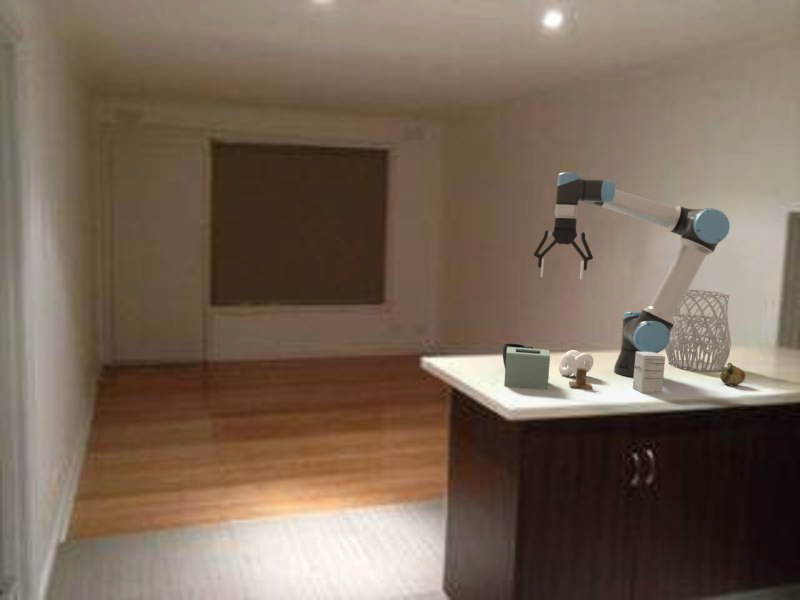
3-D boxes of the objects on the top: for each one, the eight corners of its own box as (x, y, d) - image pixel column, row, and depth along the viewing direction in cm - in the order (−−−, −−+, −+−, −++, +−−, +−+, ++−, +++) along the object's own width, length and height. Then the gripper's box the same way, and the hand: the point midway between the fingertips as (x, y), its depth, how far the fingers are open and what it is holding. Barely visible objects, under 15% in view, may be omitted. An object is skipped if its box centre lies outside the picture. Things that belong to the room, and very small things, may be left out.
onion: (742, 388, 261) (744, 366, 260) (717, 385, 265) (719, 362, 264) (745, 385, 267) (747, 363, 266) (721, 381, 271) (723, 360, 270)
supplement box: (631, 388, 252) (635, 351, 251) (653, 388, 253) (656, 351, 252) (640, 393, 245) (644, 355, 244) (662, 393, 246) (666, 355, 244)
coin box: (546, 381, 255) (548, 350, 254) (547, 389, 244) (550, 355, 242) (505, 378, 258) (507, 346, 256) (504, 385, 246) (506, 352, 245)
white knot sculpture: (589, 381, 259) (591, 356, 258) (554, 377, 263) (556, 352, 262) (593, 376, 270) (595, 351, 269) (559, 372, 274) (561, 348, 273)
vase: (710, 375, 283) (717, 296, 280) (651, 363, 301) (658, 289, 298) (739, 369, 299) (746, 294, 296) (682, 358, 317) (688, 288, 314)
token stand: (590, 385, 254) (591, 367, 253) (592, 389, 247) (593, 371, 246) (569, 383, 255) (570, 366, 254) (570, 387, 248) (571, 369, 247)
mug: (537, 372, 270) (539, 346, 269) (509, 374, 266) (510, 347, 265) (525, 368, 278) (527, 343, 277) (497, 369, 273) (498, 343, 272)
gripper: (601, 219, 263) (596, 279, 265) (529, 215, 266) (525, 275, 269) (603, 219, 255) (598, 281, 257) (529, 215, 259) (525, 276, 261)
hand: (561, 278), depth 263 cm, fingers open, 13 cm apart
